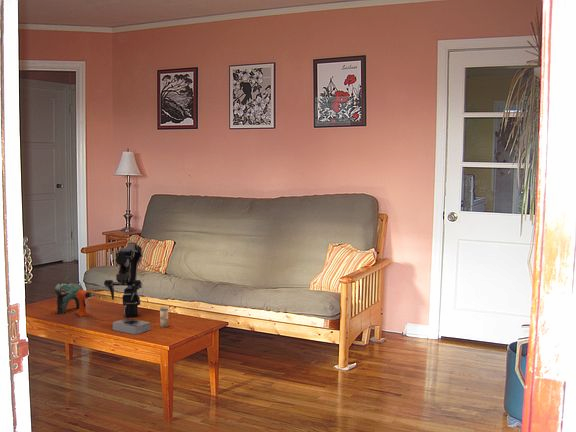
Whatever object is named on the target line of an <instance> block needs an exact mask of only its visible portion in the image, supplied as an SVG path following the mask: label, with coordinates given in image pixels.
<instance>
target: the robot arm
mask: <svg viewBox="0 0 576 432" xmlns="http://www.w3.org/2000/svg"><path fill="white" fill-rule="evenodd" d="M143 256H144V254H143V248H142V247H141V246H140V245H138V242H127V245H126V246H125V247H122V248H120V249H119V250H118V251H117V255H116V258H115V263H116V265H117V266H118V267H119V269H118V272H117V274H115V275H116V276H115V278H116V279H115V280H116V281H114V280H113V279H105V280H104V282H103V286H104V287H105V288H107V290H109V292H110V295H111V300H112V301H114V299H115V288H114V287H115V286H116V287H118V286H119V287H123V286H126V287H125V288H124V290H123V295H122V305H123V306H124V308H123V310H124V311H123V313H124V314H123V315H124V316H125V317H126V318H131V317H139V314H138V313H139V312H138V311H139V310H138V309H139V308H138V306H140V305H141V298H140V296H139V295H140V294H139V292H138V290H140V289H142V288H143V282H142V280H141V279H137V276H138V266H139V264H140V263H141V261H142V258H143Z"/></svg>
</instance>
